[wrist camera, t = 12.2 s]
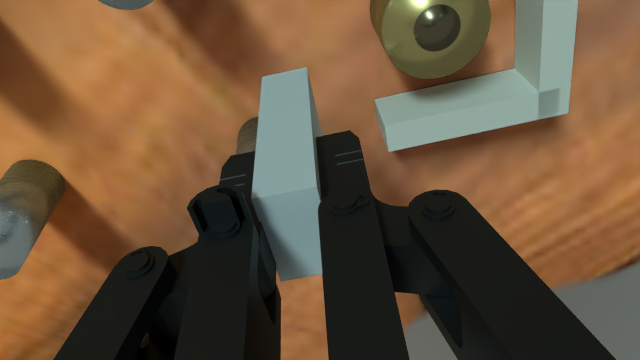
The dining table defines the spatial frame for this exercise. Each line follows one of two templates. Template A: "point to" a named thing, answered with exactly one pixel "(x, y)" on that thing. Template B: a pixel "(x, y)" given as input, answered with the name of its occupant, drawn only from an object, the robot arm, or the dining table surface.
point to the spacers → (53, 190)
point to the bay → (493, 85)
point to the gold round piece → (431, 33)
